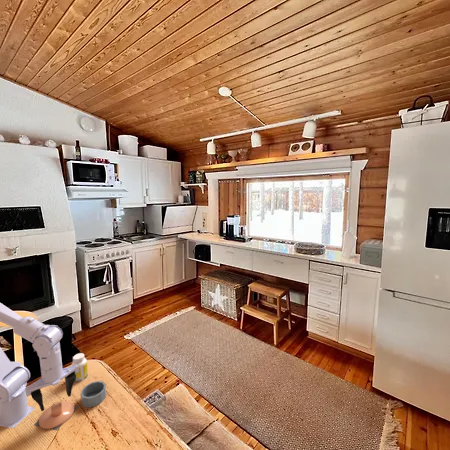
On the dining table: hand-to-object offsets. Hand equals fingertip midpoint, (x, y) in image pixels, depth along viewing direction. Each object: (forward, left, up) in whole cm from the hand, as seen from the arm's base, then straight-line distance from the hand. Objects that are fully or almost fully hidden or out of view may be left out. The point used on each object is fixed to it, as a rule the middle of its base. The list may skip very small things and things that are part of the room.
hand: (55, 401), depth 85 cm
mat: (0, 0, -6) cm, 6 cm away
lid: (0, 0, -5) cm, 5 cm away
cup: (+7, +9, -6) cm, 13 cm away
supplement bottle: (-6, +17, -6) cm, 19 cm away
